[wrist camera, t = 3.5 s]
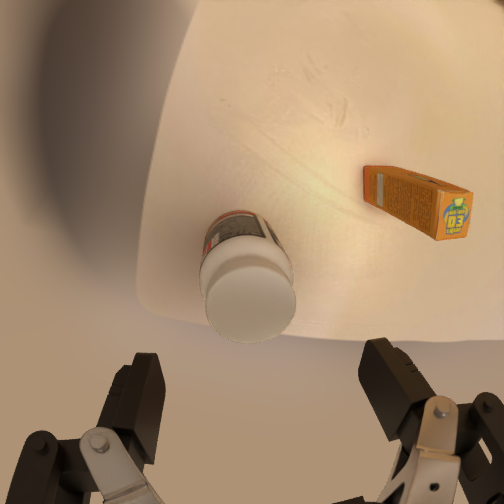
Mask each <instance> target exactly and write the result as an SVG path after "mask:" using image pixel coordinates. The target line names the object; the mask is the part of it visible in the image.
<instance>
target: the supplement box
mask: <svg viewBox="0 0 504 504" xmlns="http://www.w3.org/2000/svg"><path fill="white" fill-rule="evenodd" d="M364 200H365V202H368V203H370V204H372V205H374V206H376V207H378V208H380V209H382V210H383V211H385V212H387V213H389V214H391V215H393V216H394V217H396V218H398V219H400V220H402V221H404V222H405V223H407V224H409V225H411V226H413V227H414V228H416V229H418V230H420V231H421V232H423V233H425V234H426V235H428V236H430V237H431V238H433V239H434V240H436V241H439V240H447V239H456V238H464V237H466V236H467V232H468V228H469V223H470V217H471V210H472V201H473V192H470V191H468V190H466V189H463V188H461V187H458V186H455V185H453V184H450V183H447V182H444V181H441V180H438V179H435V178H432V177H429V176H426V175H423V174H419V173H416V172H413V171H409V170H405V169H402V168H398V167H393V166H365V167H364Z"/></svg>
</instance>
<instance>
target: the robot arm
mask: <svg viewBox="0 0 504 504" xmlns="http://www.w3.org/2000/svg"><path fill="white" fill-rule="evenodd" d="M358 376H359V381H360V383H361V385H362V387H363V389H364V391H365V393H366V395H367V397H368V399H369V401H370V403H371V405H372V407H373V409H374V411H375V414H376V416H377V418H378V420H379V422H380V424H381V426H382V428H383V430H384V432H385V434H386V436H387V438H388V440H389V442H390V441H393V440H396V439H400V441H401V444H400V446H399V449H398V452H397V455H396V458H395V461H394V464H393V467H392V470H391V473H390V476H389V478H388V481H387V484H386V486H385V487H384V489H383V491H382V492H381V494H380V495H379V497H378V499H377V501H376V502H365V501H364V498H363V496H360V497H356V498H353V499H349V500H345V501H341V502H337V503H333V504H453V501H454V496H455V492H456V486H457V482H458V479H459V482H460V484H461V486H462V488H463V491H464V493H465V495H466V498H467V500H468V502H469V504H504V405H503V403H502V402H501V400H500V399H499V398H498V397H497V396H496V395H494V394H492V393H488V392H483V393H480V394H479V395H477V397H476V398H475V400H474V401H473V403H467V404H458V405H457V404H456V403H455V402H454V401H453V400H451V399H450V398H448V397H445V396H437V395H436V394H435V392H434V391H433V390H432V388H431V387H430V385H429V384H428V382H427V381H426V380H425V378H424V377H423V375H422V374H421V373H420V371H418V369H417V367H416V366H415V364H413V362H412V360H411V359H410V358H409V356H408V355H407V354H406V353H405V352H403V351H402V350H400V349H399V348H397V347H396V348H393V346H392V345H391V343H390V342H389V341H388V339H387V338H385V337H383V338H377V339H371V340H367V341H366V343H365V347H364V351H363V354H362V358H361V362H360V365H359V369H358ZM165 392H166V389H165V381H164V377H163V374H162V370H161V366H160V362H159V359H158V356H157V354H156V353H136V355H135V357H134V360H133V363H132V365H124V366H123V367H122V368H121V369H120V370H119V371H118V372H117V373H116V375H115V377H114V380H113V383H112V386H111V387H110V390H109V395H107V398H106V401H105V404H104V406H103V409H102V412H101V415H100V418H99V421H98V424H97V426H96V427H95V428H92V429H90V430H88V431H87V432H85V433H84V435H83V436H82V437H81V438H80V439H70V440H57V439H56V438H55V436H54V435H53V434H52V433H50V432H48V431H36V432H34V433H32V434H31V435H30V436H29V437H28V438H27V439H26V441H25V444H24V446H23V449H22V452H21V455H20V457H19V460H18V463H17V466H16V469H15V472H14V475H13V478H12V482H11V485H10V488H9V492H8V496H7V499H6V503H5V504H89V502H90V497H91V492H99V491H100V492H101V494H102V496H103V498H104V501H103V504H165V503H164V502H163V501H162V499H161V498H160V497H159V495H158V494H157V493H156V491H155V490H154V489H153V487H152V486H151V484H150V483H149V482H148V480H147V479H146V477H145V476H144V474H143V469H144V464H154V460H155V453H156V447H157V441H158V440H157V439H158V434H159V428H160V422H161V417H162V411H163V405H164V400H165ZM481 438H482V439H483V441H484V442H485V444H486V446H487V447H488V449H489V451H490V453H491V455H492V463H491V464H490V463H489V461H488V459H487V457H486V455H485V454H484V452H483V450H482V448H481V446H480V444H479V443H478V442H479V441H480V439H481Z"/></svg>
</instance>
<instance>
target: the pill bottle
mask: <svg viewBox="0 0 504 504" xmlns="http://www.w3.org/2000/svg"><path fill="white" fill-rule="evenodd" d="M199 285H200V290H201V294H202V296H203V299H204V300H205V302H206V304H205V307H206V314H207V318H208V320H209V322H210V324H211V326H212V327H213V328H214V329H215V330H216V331H217V332H218V333H219V334H220V335H221V336H223V337H224V338H226V339H228V340H230V341H234V342H237V343H243V344H254V343H261V342H264V341H267V340H269V339H272V338H274V337H276V336H277V335H279V334H280V333H281V332H282V331H283V330H285V328H286V327H287V326H288V325H289V323H290V322H291V320H292V318H293V316H294V313H295V309H296V297H295V293H294V290H293V270H292V266H291V263H290V261H289V258H288V256H287V255H286V253H285V251H284V249H283V247H282V246H281V244H280V242H279V240H278V238H277V237H276V235H275V233H274V231H273V229H272V228H271V226H270V225H269V224H268V223H267V221H265V220H264V219H263V218H262V217H260V216H259V215H257V214H254V213H252V212H247V211H234V212H230V213H227V214H225V215H223V216H221V217H220V218H218V219H217V220H216V221H215V222H214V223H213V224H212V225H211V227H210V228H209V230H208V232H207V235H206V238H205V243H204V249H203V255H202V262H201V267H200V274H199Z"/></svg>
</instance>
